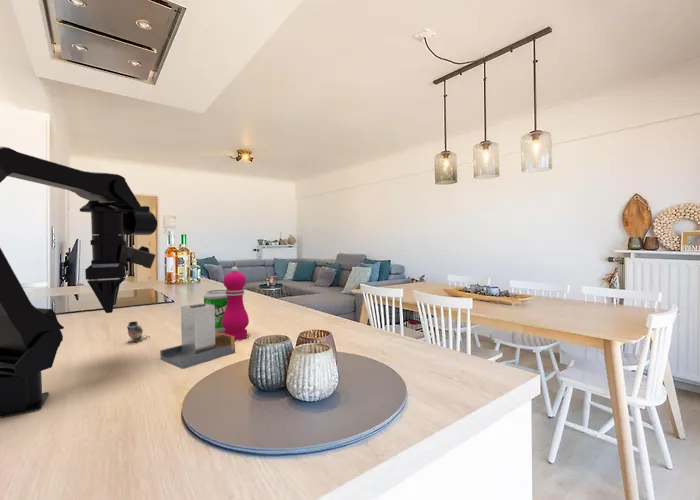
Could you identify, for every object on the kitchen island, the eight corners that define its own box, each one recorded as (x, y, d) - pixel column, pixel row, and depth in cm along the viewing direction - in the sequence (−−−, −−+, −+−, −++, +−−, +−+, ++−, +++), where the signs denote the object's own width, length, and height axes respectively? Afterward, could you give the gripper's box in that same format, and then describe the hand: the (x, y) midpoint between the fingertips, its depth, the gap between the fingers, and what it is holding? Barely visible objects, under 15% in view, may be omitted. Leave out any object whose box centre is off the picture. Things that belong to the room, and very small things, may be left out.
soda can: (203, 329, 107) (203, 290, 106) (229, 326, 110) (229, 288, 109) (205, 335, 100) (204, 293, 99) (232, 332, 103) (231, 292, 103)
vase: (143, 344, 92) (140, 322, 91) (120, 347, 91) (118, 324, 91) (151, 338, 97) (148, 317, 97) (130, 340, 96) (127, 319, 96)
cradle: (182, 368, 74) (182, 349, 74) (160, 358, 80) (160, 341, 80) (235, 352, 85) (234, 336, 85) (211, 344, 91) (211, 329, 91)
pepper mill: (216, 338, 96) (214, 267, 96) (236, 332, 103) (234, 265, 102) (235, 342, 93) (234, 267, 92) (254, 335, 99) (253, 265, 99)
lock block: (195, 357, 79) (194, 308, 78) (181, 352, 82) (180, 305, 82) (215, 351, 83) (214, 304, 82) (201, 347, 86) (200, 302, 86)
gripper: (153, 234, 69) (155, 312, 70) (151, 235, 85) (153, 298, 86) (83, 234, 63) (86, 319, 64) (95, 235, 79) (98, 303, 80)
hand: (111, 308), depth 74 cm, fingers open, 9 cm apart
